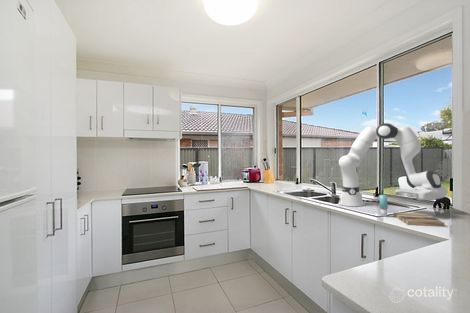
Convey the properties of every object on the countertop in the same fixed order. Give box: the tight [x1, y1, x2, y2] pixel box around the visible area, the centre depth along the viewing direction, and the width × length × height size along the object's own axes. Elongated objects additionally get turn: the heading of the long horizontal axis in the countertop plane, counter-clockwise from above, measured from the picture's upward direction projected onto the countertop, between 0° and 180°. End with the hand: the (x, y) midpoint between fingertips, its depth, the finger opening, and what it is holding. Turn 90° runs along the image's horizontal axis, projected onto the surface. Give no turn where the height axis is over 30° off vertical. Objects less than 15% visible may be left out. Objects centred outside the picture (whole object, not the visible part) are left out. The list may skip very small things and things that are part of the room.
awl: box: [378, 194, 388, 218], centre depth 137 cm, size 4×4×13 cm
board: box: [392, 211, 446, 227], centre depth 126 cm, size 20×16×2 cm
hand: (401, 194), depth 139 cm, fingers open, 8 cm apart
